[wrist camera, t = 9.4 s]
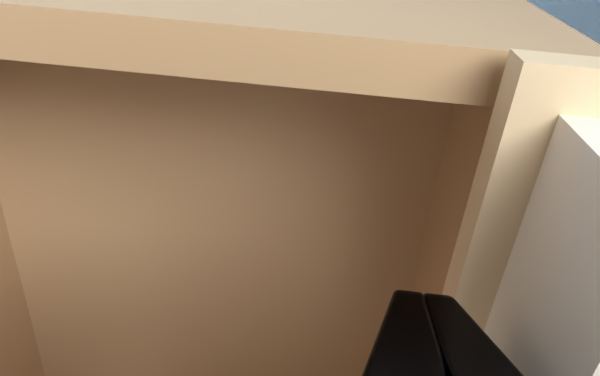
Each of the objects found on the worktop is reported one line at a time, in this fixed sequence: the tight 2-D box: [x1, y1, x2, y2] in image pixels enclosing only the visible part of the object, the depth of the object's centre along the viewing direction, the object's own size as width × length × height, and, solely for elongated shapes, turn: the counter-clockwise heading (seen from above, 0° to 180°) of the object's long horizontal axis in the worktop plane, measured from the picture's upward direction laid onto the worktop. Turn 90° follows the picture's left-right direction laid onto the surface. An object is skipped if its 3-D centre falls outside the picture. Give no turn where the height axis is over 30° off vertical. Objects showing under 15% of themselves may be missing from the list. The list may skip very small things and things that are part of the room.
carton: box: [0, 0, 600, 376], centre depth 14 cm, size 14×16×6 cm
